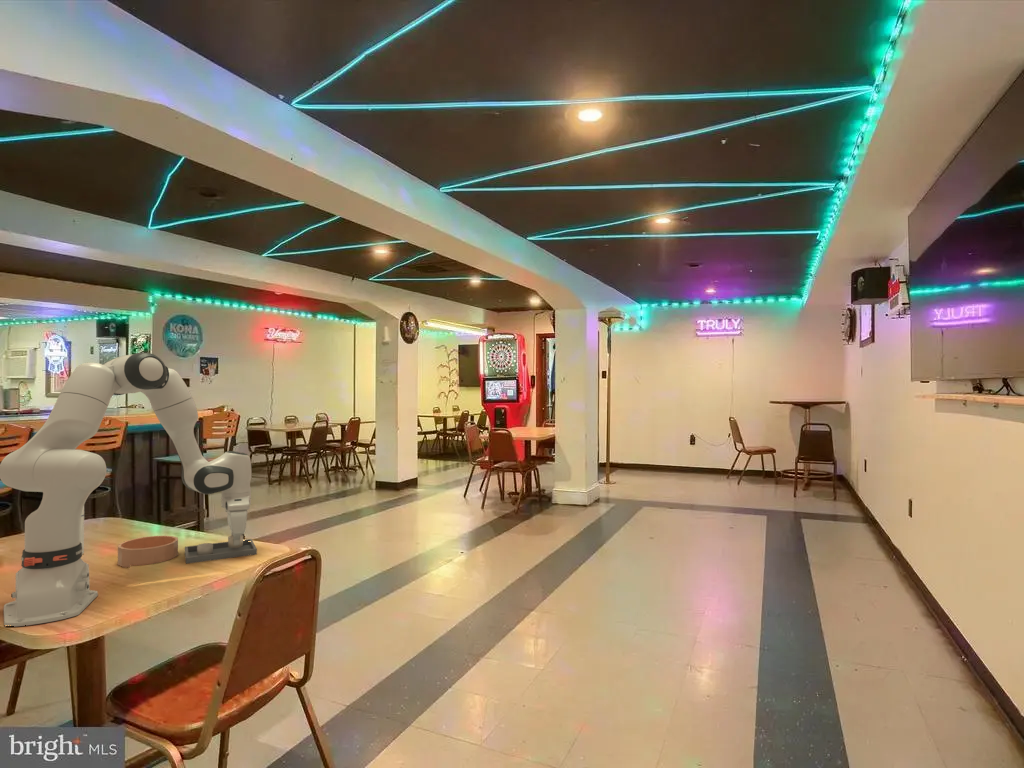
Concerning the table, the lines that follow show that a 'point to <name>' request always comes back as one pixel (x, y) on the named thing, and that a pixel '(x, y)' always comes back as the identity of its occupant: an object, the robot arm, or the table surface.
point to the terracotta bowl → (147, 550)
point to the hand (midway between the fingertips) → (235, 542)
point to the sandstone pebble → (230, 542)
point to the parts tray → (220, 552)
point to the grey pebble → (204, 549)
